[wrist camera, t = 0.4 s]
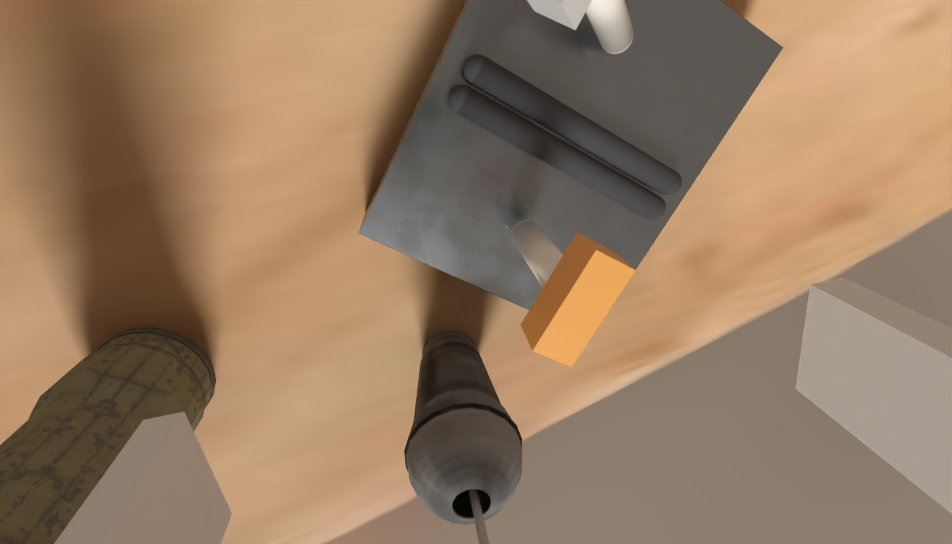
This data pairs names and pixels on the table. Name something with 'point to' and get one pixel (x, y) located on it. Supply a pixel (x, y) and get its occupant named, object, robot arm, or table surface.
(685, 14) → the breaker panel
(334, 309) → the table surface
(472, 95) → the cord bundle
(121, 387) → the thermos
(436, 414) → the beverage cup
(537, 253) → the orange mallet
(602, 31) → the white toy hammer
